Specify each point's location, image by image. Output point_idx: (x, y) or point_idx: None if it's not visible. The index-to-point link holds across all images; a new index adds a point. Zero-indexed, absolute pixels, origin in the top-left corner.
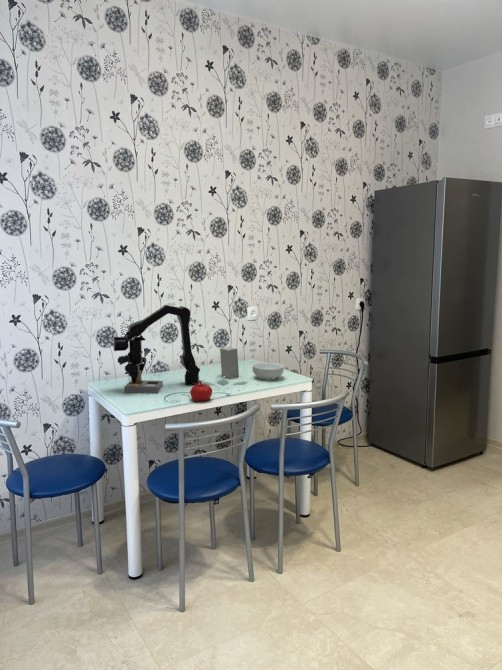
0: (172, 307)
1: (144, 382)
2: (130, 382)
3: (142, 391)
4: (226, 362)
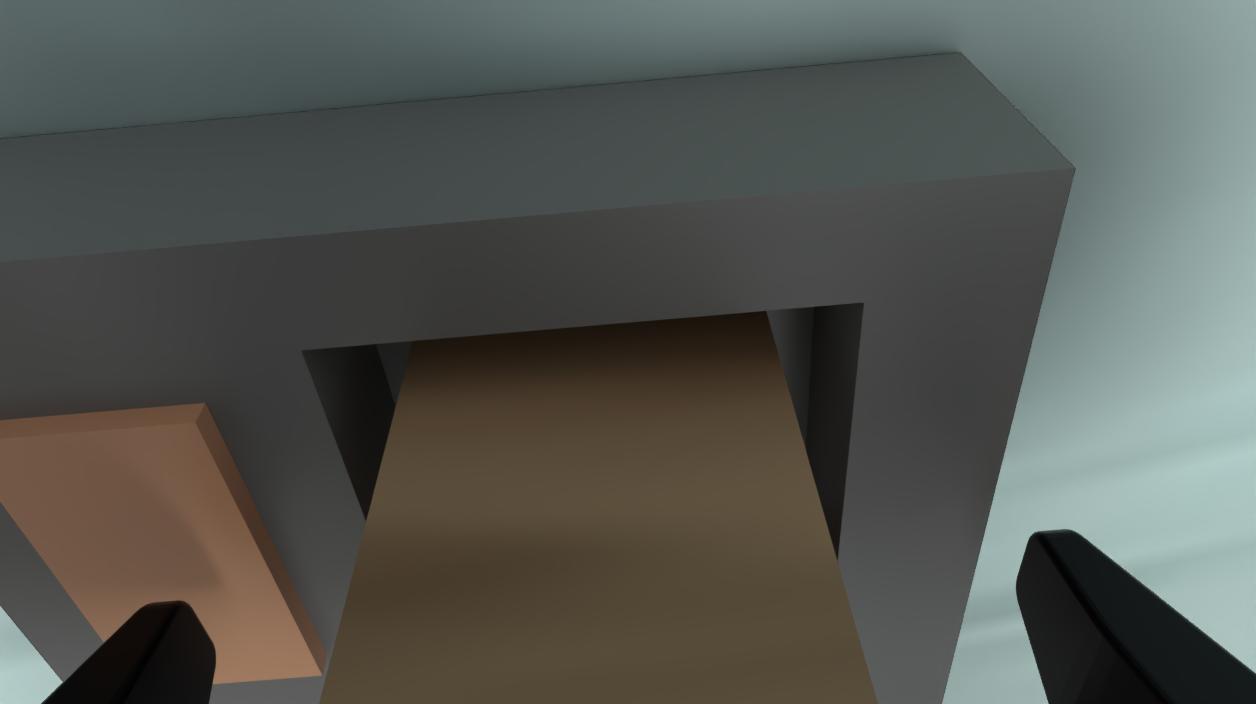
0: None
1: None
2: (597, 299)
3: None
4: None
